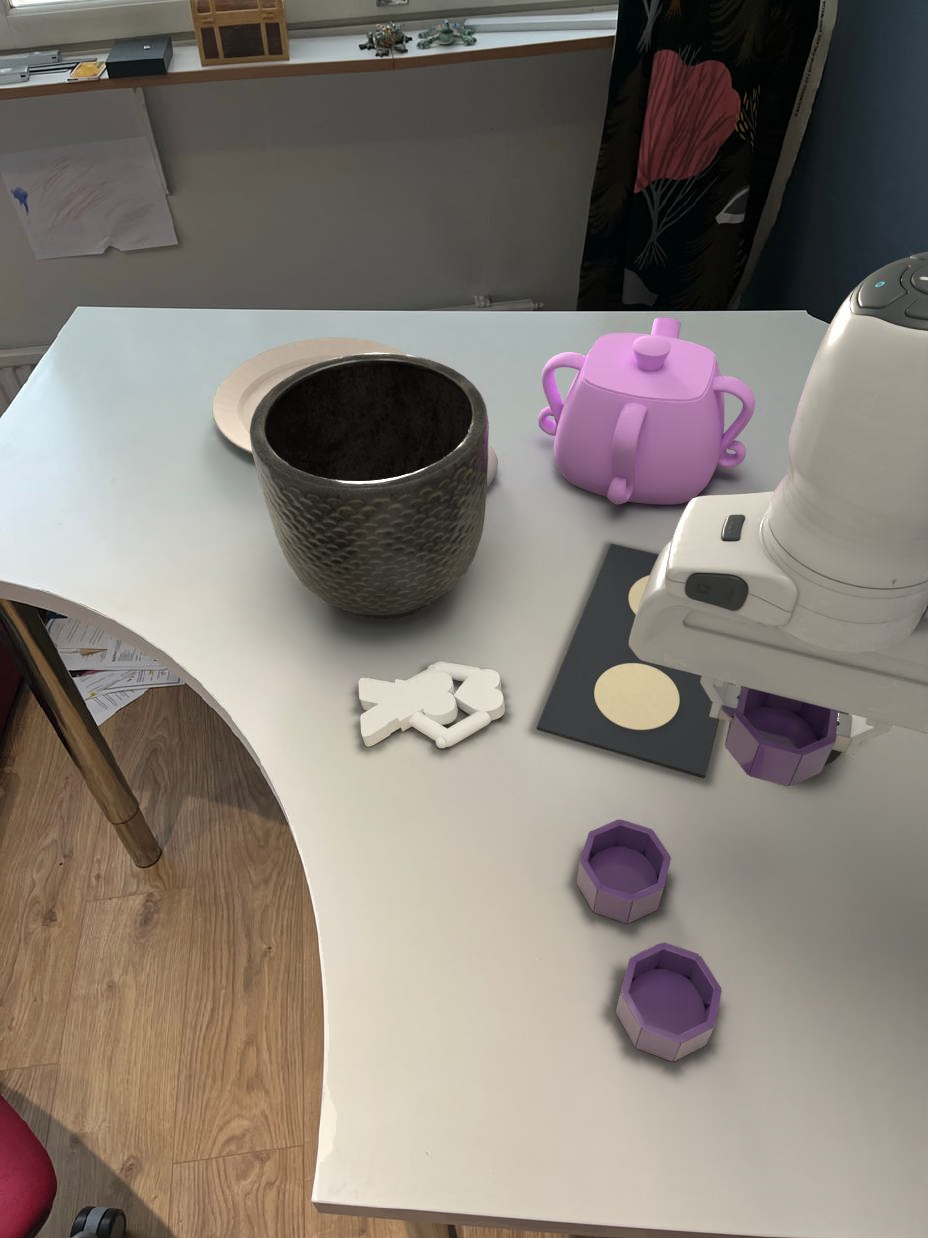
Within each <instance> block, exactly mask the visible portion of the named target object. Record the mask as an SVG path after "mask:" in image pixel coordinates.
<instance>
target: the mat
mask: <svg viewBox="0 0 928 1238" xmlns="http://www.w3.org/2000/svg"><path fill="white" fill-rule="evenodd" d="M658 556H659V554H658V553H655V552H649V551H644V550H641V549H638V548H632V547H628V546H624V545H620V544H615V543H610V545H609V548H608V550H607V552H606V554H605V557H604V559H603V562H602V565H601V567H600V570H599V572H598V575H597V577H596V580H595V581H594V584H593V587H592V590H591V592H590V594H589V597H588V599H587V601H586V604H585V606H584V609H583V612H582V614H581V617H580V619H579V621H578V624H577V626H576V629H575V631H574V634H573V637H572V639H571V641H570V644H569V646H568V648H567V652H566V653H565V654H566V655H565V656H564V659H563V660H562V661H563V662H562V664H561V666H560V668H559V672H558V673H557V676H556V679H555V681H554V683H553V686H552V689H551V691H550V692H549V693H550V694H549V696H548V699H547V701H546V704H545V706H544V708H543V711H542V713H541V716H540V718H539V721H538V724H537V726H536V730H539V731H543V732H546V733H549V734H553V735H556V736H560V737H564V738H566V739H570V740H574V741H577V742H581V743H583V744H586V745H591V746H593V747H597V748H600V749H604V750H608V751H611V752H615V753H618V754H622V755H625V756H628V757H631V758H634V759H635V758H636V759H639V760H642V761H645V762H650V763H653V764H657V765H660V766H662V767H666V768H670V769H674V770H677V771H680V772H684V773H686V774H690V775H694V776H697V777H701V778H706V774H707V769H708V766H709V761H710V758H711V757H710V756H711V754H712V749H713V744H714V741H715V736H716V733H717V729H718V725H719V721H720V719H716V718H712V717H710V716H709V715H710V711H711V707H712V703H713V702H712V701H711V700H710V698H709V696H708V695H707V693H706V691H705V690H704V688H703V686H702V684H701V683H700V681H701V677H702V676H701V675H697V674H693V673H689V672H685V671H681V670H678V669H674V668H670V667H666V666H662V665H658V664H654V663H650V662H646V661H643V660H640V659H639V658H638V657H637V656H636V655H635V653H634V652H633V651H632V650H631V648H630V647H629V637H630V633H631V630H632V627H633V623H634V620H635V617H636V614H637V610H638V607H639V604H640V601H641V598H642V595H643V593H644V590H645V587H646V584H647V582H648V579H649V576H650V574H651V571H652V569H653V567H654V564H655V562H656V560H657V558H658Z"/></svg>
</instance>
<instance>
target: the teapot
mask: <svg viewBox="0 0 928 1238" xmlns="http://www.w3.org/2000/svg"><path fill="white" fill-rule="evenodd" d="M652 323H653V324H652V328H651V329H652V330H651V332H650V334H649V333H638V332H611V333H606V334H604V335H601V336H600V337H599V338H597V339H596V341H595V342H594V343H593V345H592V346H591V348H590V350H589V351H588V353H587V355H584V354H581V353H578V352H574V351H567V352H561V353H558V354H555V355H554V356H552V357H550V359H549V360H548V361H547V362H546V363H545V365H544V367H543V369H542V373H541V385H542V389H543V392H544V396H545V398H546V401H547V403H548V406H546V407H544V408H543V409H542V410H540V412H539V415H538V417H537V418H538V419H537V422H538V424H537V425H538V426H539V429H540V430H541V431H542V432H544V433H545V434H547V435H548V436H552V437H553V436H554V437H555V439H554V443H553V457H554V462H555V464H556V466H557V468H558V469H559V471H560V473H561V475H562V476H563V477H564V479H565V480H566V481H568V483H569V484H572V485H573V486H575V487H577V488H580V489H582V490H584V491H588V492H591V493H593V494H596V495H599V496H603V497H607V499H608V500H609V501H610V502H611V503H613V504H615V505H621V504H626V503H627V502H629V503H637V504H645V505H646V504H648V505H662V506H663V505H666V506H667V505H680V504H685V503H689V502H690V500H692V499H693V498H696V497H698V495H699V494H700V493H701V492H702V491H703V490H704V489H705V488H706V487H707V486H708V484H709V483H710V480H712V477H713V475H714V473H715V471H716V468H717V466H720V467H722V468H735V467H738V466H739V465H741V464H742V463H743V461H744V460H745V458H746V454H747V448H746V446H745V444H744V443H743V442H741V441H740V440H736V439H737V437H738V436H739V435H740V434H741V433H742V432H743V431H744V429H745V428H746V426H747V425H748V424H749V422H750V420H751V419H752V417H753V415H754V412H755V407H756V397H755V395H754V393H753V390H752V389H751V388H750V387H749V386H748V384H746V383H745V382H743V381H742V380H740V379H739V378H736V377H734V376H728V375H721V370H720V367H719V364H718V359H717V356H716V355H715V352H713V351H712V350H711V349H709V348H708V347H706V346H703V345H701V344H698V343H696V342H692V341H689V340H684V339H680V333H681V325H682V322H681V321H680V320H677V319H676V318H671V317H663V316H661V317H656V318H654V320H653V322H652ZM560 368H570V369H574V370H576V371H577V370H578V371H577V373H576V375H575V376H574V378H573V381H572V383H571V385H570V388H568V392H567V393H566V394H567V395H566V396H565V398H564V399H565V400H564V402H563V399H562V396H561V394H560V391H559V388H558V387H557V383H556V377H555V370H557V369H560ZM725 393H727V394H730V395H732V396H734V397H736V398H737V399H738V400H740V402H741V403H742V408H741V411H740V413H739V414H738V416H737V417H736V419H735V420H734V421H733V423H731V425H729V427H728V428H727V429H726V430H725V420H726V419H725V417H726V416H725V415H726V414H725V413H726V412H725V408H726V406H725V405H726V404H725V403H726V401H725ZM550 417H553V418H554V420H552V419H551V418H550ZM727 450H731V451H734V452H735V453H729V452H728V451H727Z"/></svg>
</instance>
